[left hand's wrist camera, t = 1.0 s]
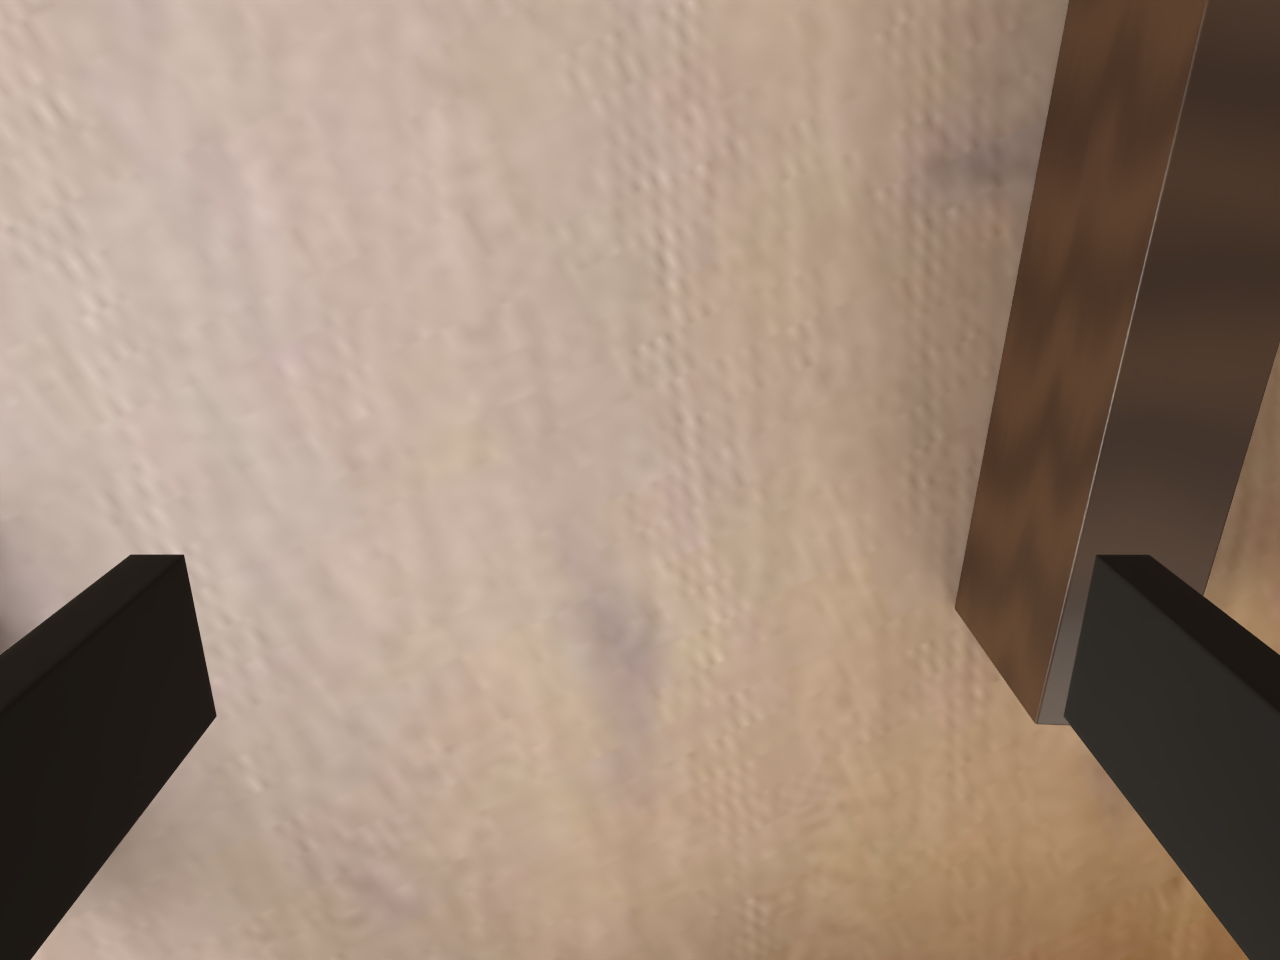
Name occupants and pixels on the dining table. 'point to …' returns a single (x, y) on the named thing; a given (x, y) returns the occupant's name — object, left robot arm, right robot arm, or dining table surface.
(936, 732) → the dining table surface
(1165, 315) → the beam
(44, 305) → the dining table surface
